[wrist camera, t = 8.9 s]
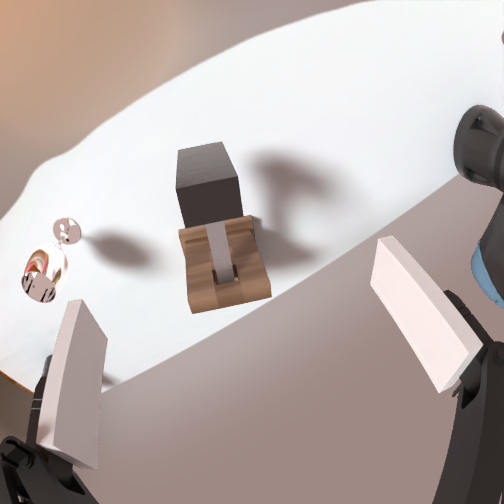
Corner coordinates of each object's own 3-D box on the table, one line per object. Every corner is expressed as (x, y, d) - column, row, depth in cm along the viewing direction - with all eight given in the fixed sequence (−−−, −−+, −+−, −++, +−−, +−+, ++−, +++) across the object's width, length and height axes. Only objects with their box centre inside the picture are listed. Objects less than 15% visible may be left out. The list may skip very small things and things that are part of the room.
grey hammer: (178, 150, 25) (175, 188, 18) (221, 141, 26) (237, 176, 19) (208, 279, 35) (218, 340, 28) (242, 272, 35) (259, 331, 28)
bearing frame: (178, 229, 40) (179, 295, 30) (250, 215, 41) (275, 275, 31) (194, 283, 46) (201, 351, 36) (257, 270, 47) (279, 334, 37)
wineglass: (83, 251, 39) (61, 310, 29) (48, 243, 37) (20, 299, 27) (86, 217, 36) (60, 273, 26) (50, 209, 34) (15, 261, 24)
